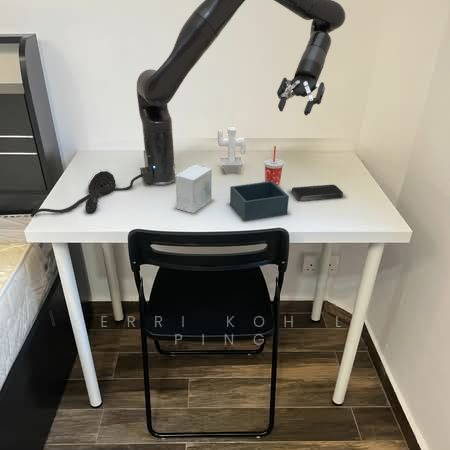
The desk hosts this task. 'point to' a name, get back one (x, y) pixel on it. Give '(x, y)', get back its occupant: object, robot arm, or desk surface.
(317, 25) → the robot arm
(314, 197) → the phone
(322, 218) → the desk surface
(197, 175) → the cosmetics box
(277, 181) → the beverage cup
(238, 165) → the figurine
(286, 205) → the tub
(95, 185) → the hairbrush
